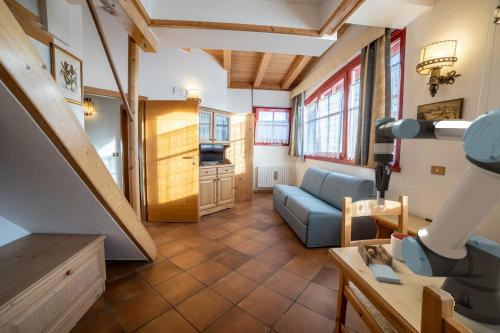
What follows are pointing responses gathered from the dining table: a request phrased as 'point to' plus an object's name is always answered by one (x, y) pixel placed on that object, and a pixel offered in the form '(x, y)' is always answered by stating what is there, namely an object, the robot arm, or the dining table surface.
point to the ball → (371, 252)
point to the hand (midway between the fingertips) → (380, 204)
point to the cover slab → (384, 273)
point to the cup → (397, 245)
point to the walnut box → (375, 255)
